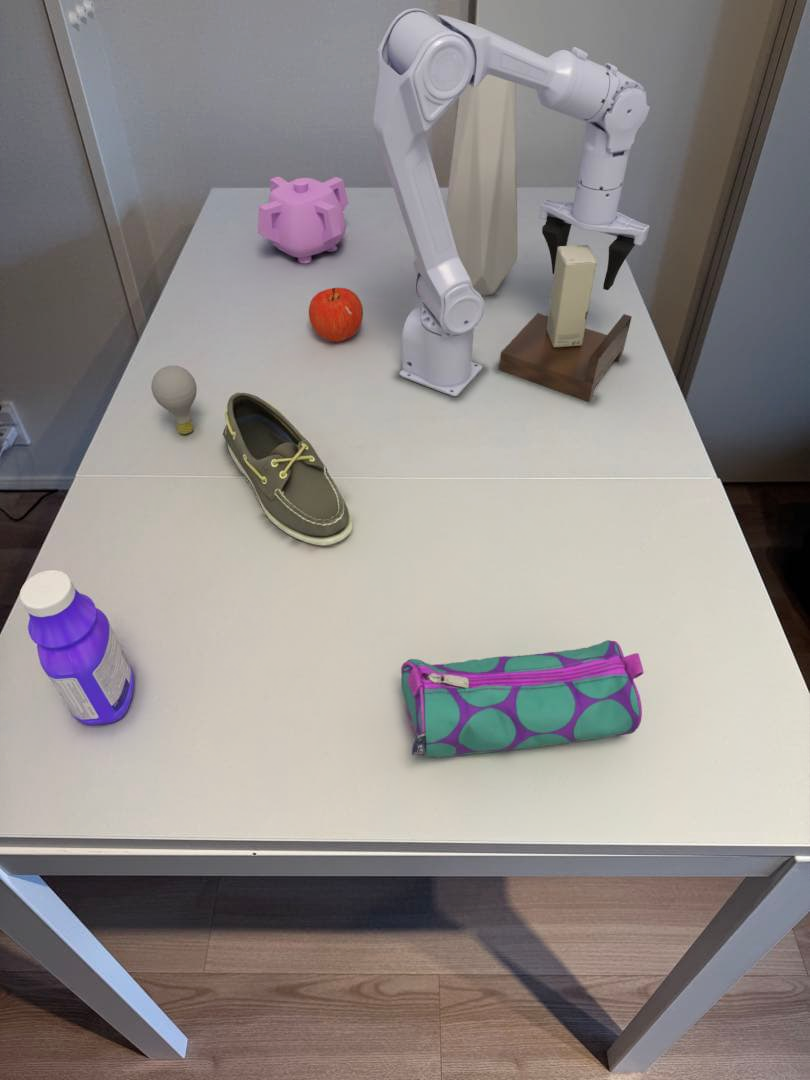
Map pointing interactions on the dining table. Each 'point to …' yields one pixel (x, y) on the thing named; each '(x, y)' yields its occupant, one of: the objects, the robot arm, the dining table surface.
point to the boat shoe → (285, 472)
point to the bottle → (77, 649)
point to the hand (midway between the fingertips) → (582, 278)
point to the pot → (304, 216)
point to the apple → (336, 314)
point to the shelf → (564, 357)
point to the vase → (485, 183)
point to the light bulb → (176, 394)
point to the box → (570, 295)
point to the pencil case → (522, 700)
